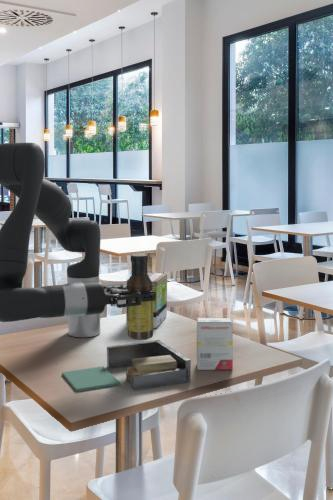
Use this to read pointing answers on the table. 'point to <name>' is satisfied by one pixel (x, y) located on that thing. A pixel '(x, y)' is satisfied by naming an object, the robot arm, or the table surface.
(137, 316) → the sauce bottle
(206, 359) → the ink box
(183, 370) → the grey three-sided tray
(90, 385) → the green rubber mat
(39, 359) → the table surface
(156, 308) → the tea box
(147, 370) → the offcut stack
